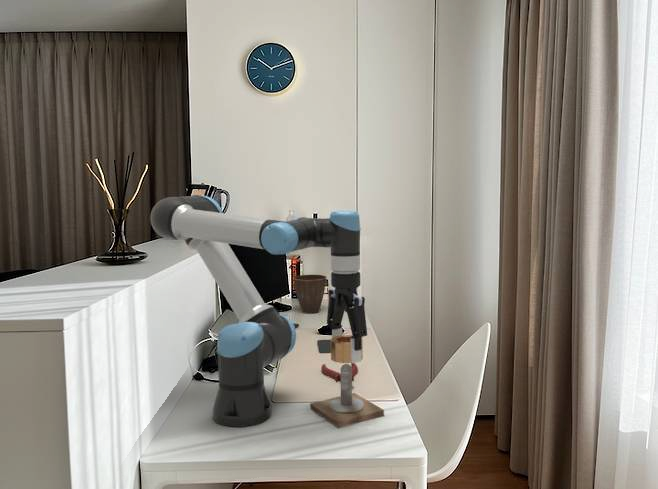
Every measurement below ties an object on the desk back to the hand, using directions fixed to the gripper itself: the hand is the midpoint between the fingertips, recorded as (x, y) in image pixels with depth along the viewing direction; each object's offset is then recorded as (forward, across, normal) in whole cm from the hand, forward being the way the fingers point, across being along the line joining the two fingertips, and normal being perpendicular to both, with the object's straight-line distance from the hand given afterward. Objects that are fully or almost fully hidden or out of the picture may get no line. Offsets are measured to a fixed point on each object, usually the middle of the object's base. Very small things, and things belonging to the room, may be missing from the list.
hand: (346, 357), depth 152 cm
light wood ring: (0, 0, 0) cm, 0 cm away
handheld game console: (+15, +85, -23) cm, 89 cm away
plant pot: (+15, +104, -47) cm, 115 cm away
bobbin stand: (+15, 0, 0) cm, 15 cm away
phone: (+15, +53, -26) cm, 61 cm away
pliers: (+16, +24, -12) cm, 31 cm away
